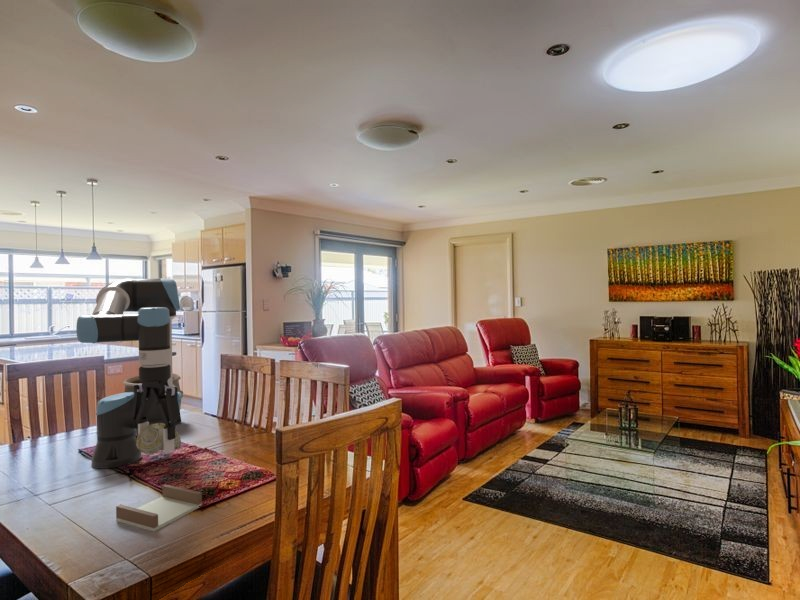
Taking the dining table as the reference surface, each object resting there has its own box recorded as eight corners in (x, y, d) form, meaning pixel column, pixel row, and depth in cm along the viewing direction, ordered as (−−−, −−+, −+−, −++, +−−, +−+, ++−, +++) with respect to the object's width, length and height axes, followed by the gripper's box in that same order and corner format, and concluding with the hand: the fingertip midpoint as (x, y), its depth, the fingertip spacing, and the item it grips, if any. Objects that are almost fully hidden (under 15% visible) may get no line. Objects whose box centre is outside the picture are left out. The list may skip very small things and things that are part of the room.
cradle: (116, 520, 121) (116, 506, 121) (166, 497, 135) (165, 484, 135) (154, 531, 115) (153, 516, 115) (201, 505, 129) (201, 492, 129)
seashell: (186, 439, 132) (182, 412, 127) (175, 465, 123) (170, 437, 119) (148, 439, 130) (142, 411, 126) (134, 466, 122) (127, 437, 117)
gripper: (114, 364, 125) (116, 448, 125) (171, 369, 116) (173, 459, 116) (140, 361, 132) (141, 440, 132) (195, 365, 123) (197, 449, 123)
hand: (156, 448), depth 124 cm, fingers closed on seashell, 9 cm apart
